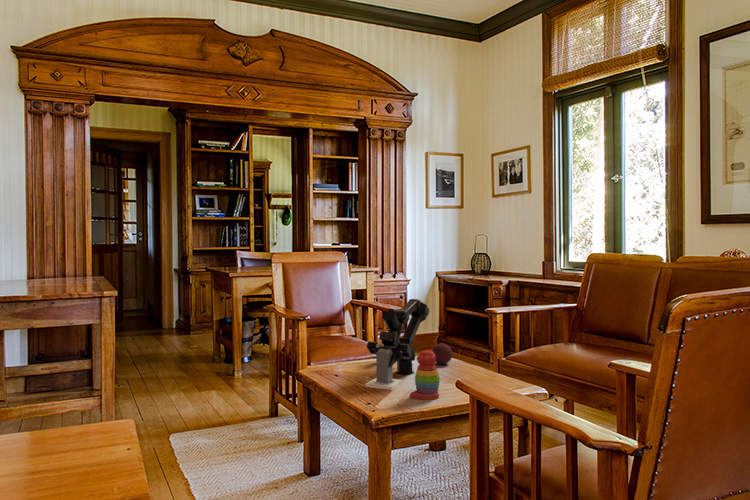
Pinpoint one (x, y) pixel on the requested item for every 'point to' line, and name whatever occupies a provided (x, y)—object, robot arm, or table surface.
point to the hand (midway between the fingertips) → (383, 366)
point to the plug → (384, 366)
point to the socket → (384, 384)
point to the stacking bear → (426, 377)
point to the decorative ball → (442, 353)
